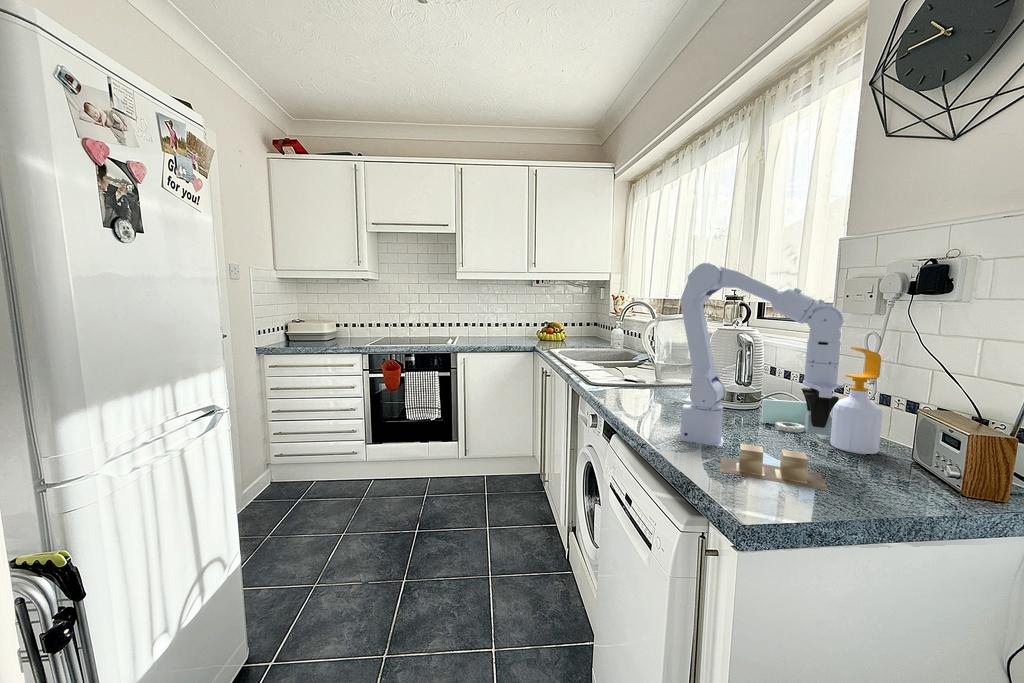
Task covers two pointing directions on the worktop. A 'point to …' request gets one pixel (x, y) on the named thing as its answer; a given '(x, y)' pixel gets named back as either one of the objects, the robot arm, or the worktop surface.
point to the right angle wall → (785, 415)
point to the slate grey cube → (817, 430)
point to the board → (773, 474)
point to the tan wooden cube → (794, 465)
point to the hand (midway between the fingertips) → (816, 424)
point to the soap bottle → (858, 413)
